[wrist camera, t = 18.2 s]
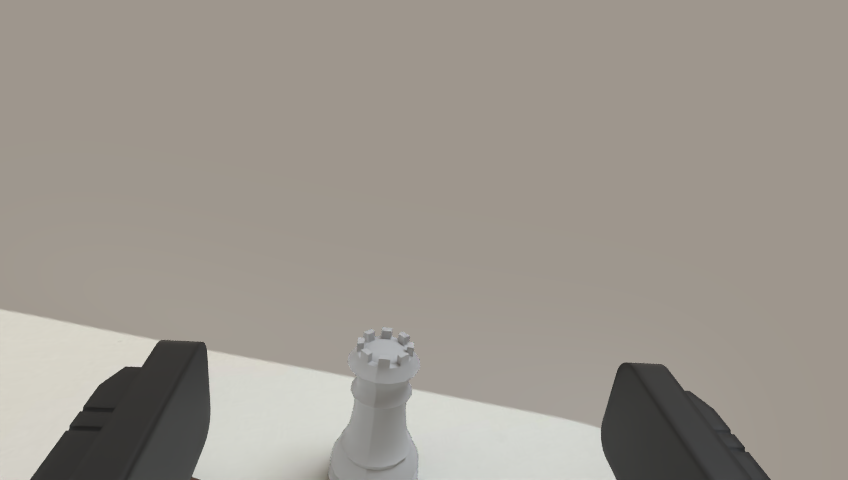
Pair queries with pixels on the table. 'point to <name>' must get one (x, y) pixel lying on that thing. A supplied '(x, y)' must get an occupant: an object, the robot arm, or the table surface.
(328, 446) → the table surface
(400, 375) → the rook chess piece
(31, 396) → the table surface
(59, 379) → the table surface
